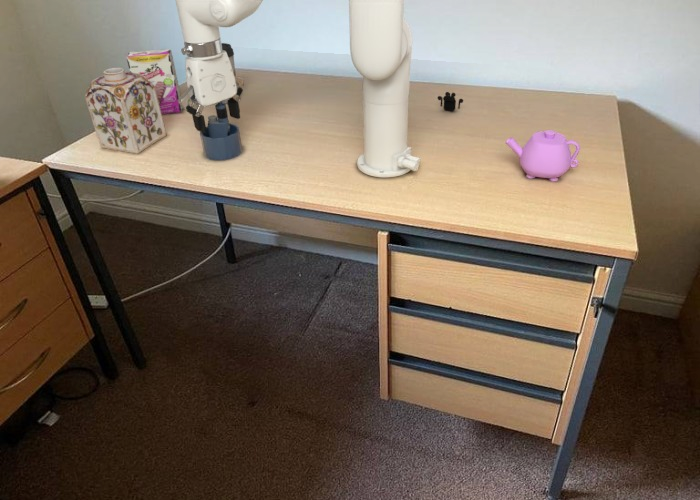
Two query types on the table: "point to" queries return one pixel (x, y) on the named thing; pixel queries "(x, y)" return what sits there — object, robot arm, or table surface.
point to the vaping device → (219, 122)
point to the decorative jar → (125, 111)
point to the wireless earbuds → (449, 101)
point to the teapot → (545, 154)
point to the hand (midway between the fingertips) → (218, 124)
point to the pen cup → (222, 145)
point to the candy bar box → (158, 76)
